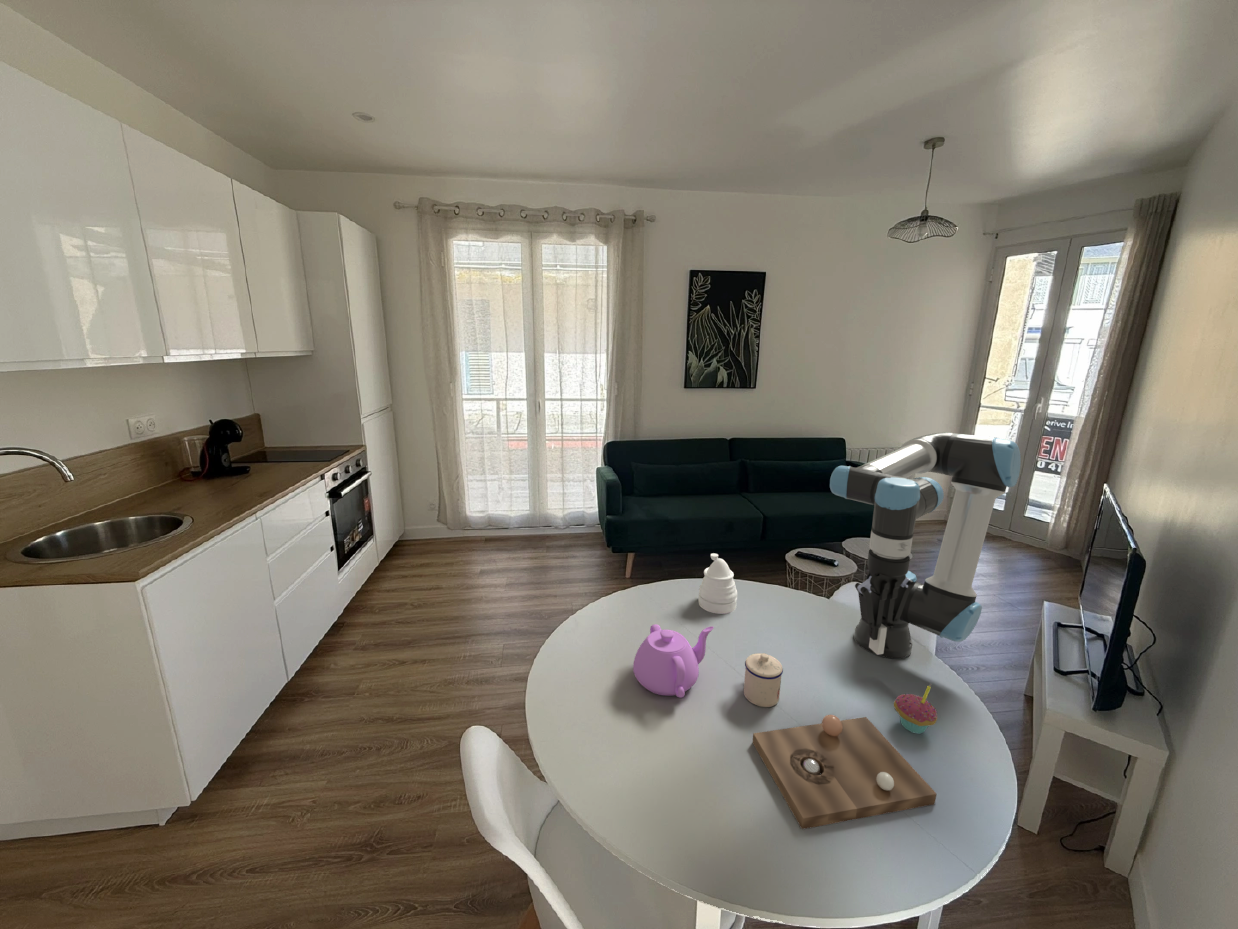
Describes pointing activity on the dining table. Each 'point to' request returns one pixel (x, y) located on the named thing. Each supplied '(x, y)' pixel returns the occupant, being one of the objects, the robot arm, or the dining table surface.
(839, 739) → the wooden board
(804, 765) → the steel ball
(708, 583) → the honey pot
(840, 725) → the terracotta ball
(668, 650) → the teapot
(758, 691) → the teacup with lid
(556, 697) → the dining table surface
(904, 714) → the cupcake
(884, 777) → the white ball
